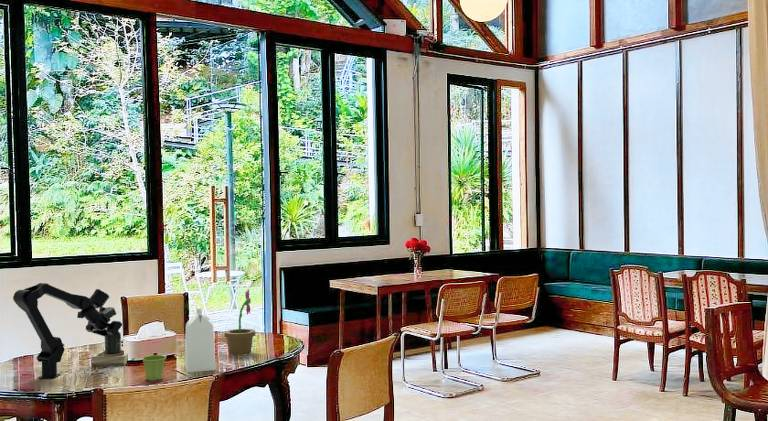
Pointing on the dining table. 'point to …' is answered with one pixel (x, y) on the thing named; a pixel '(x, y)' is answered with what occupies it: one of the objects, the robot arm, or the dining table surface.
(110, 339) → the supplement bottle
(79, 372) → the dining table surface
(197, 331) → the milk
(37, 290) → the robot arm
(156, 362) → the plant pot
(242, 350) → the flowerpot
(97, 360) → the box
